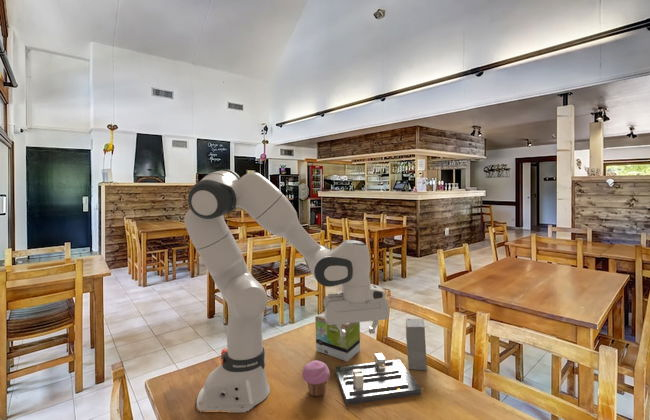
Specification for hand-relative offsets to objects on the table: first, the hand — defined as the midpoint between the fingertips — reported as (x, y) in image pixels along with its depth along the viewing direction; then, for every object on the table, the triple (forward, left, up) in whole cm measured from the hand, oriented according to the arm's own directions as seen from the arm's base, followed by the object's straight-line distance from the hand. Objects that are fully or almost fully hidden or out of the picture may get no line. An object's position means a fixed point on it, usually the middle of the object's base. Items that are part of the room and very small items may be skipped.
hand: (357, 334), depth 107 cm
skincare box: (+25, +12, -20) cm, 34 cm away
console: (+7, +4, -19) cm, 21 cm away
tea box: (-1, +27, -20) cm, 33 cm away
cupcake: (-13, +3, -20) cm, 24 cm away
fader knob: (0, 0, -17) cm, 17 cm away
